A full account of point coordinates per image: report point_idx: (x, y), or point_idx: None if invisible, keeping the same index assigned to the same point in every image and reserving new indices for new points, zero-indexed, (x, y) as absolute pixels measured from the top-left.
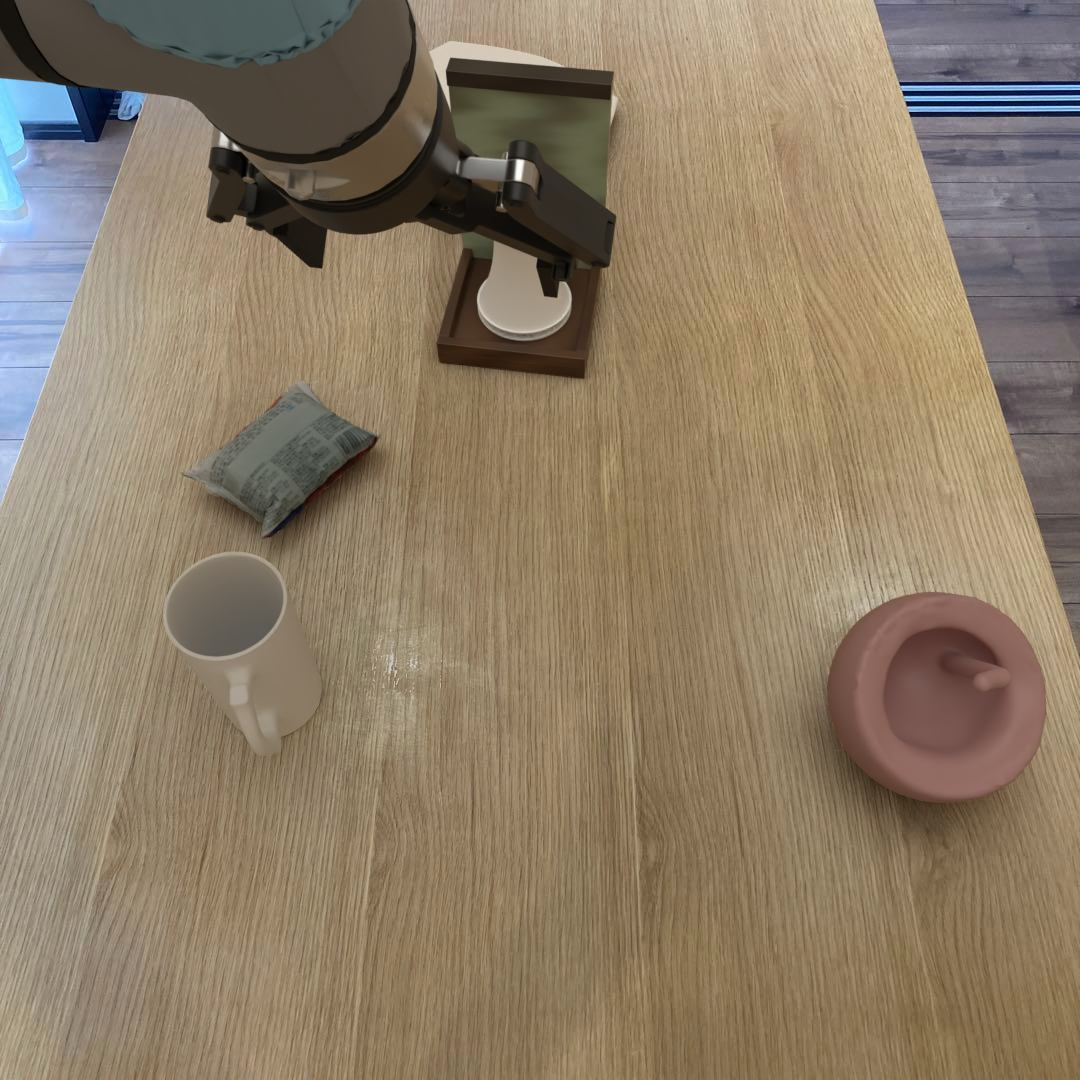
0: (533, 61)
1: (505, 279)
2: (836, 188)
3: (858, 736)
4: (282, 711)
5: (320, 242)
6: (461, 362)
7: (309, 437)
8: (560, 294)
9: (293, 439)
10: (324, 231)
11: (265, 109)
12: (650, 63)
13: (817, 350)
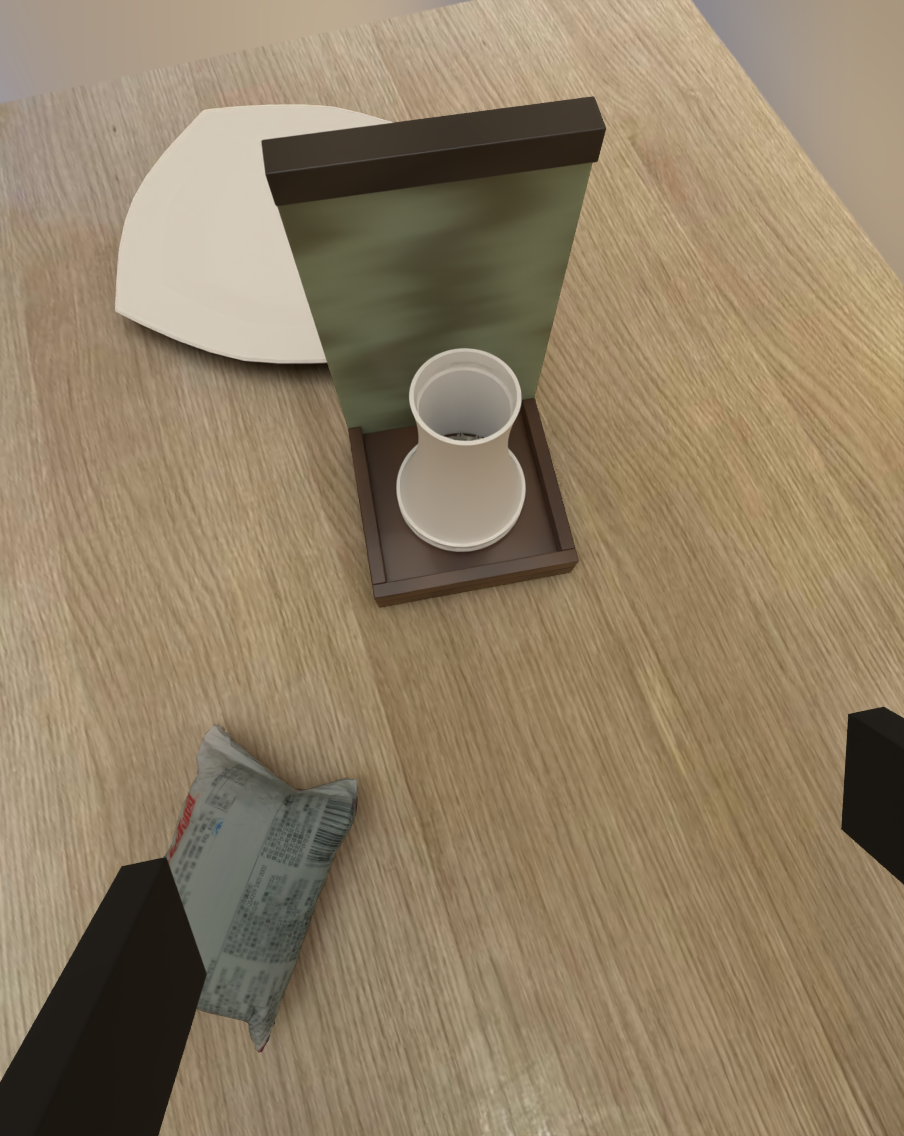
0: (322, 115)
1: (450, 493)
2: (737, 205)
3: None
4: None
5: (170, 972)
6: (409, 600)
7: (267, 879)
8: (515, 474)
9: (244, 895)
10: (167, 910)
11: None
12: (456, 86)
13: (818, 440)
